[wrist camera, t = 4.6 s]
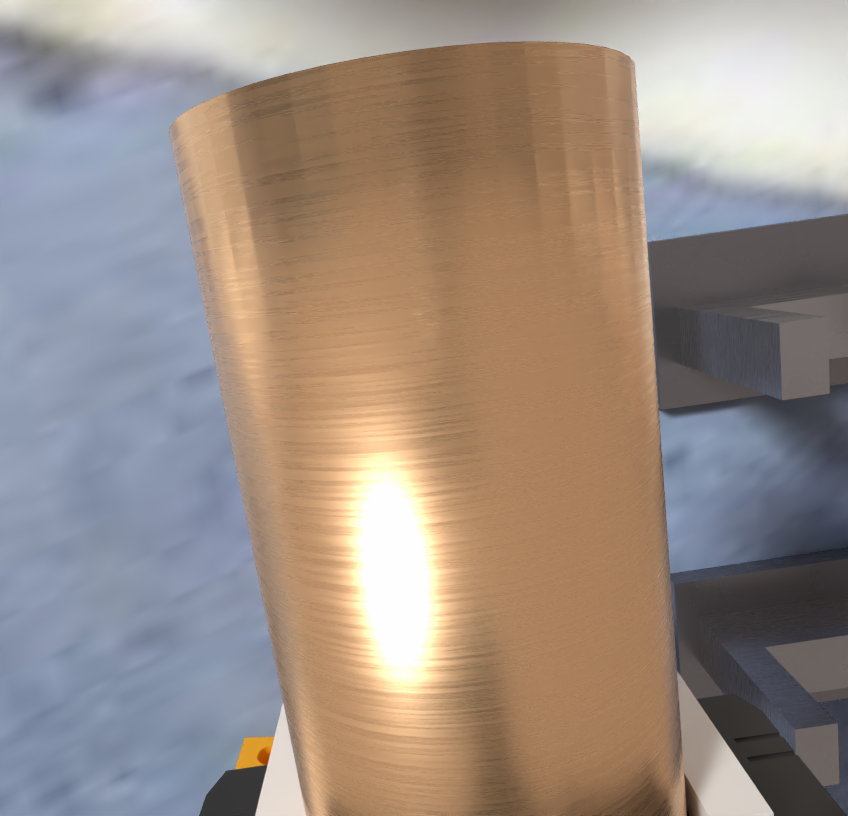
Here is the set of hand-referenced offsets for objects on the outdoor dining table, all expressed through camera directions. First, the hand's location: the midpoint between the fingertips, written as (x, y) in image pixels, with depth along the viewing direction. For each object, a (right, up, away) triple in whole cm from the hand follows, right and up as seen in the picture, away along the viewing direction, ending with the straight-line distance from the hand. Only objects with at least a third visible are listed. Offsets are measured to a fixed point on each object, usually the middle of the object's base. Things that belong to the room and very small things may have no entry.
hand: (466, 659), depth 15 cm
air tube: (0, -1, -5) cm, 5 cm away
